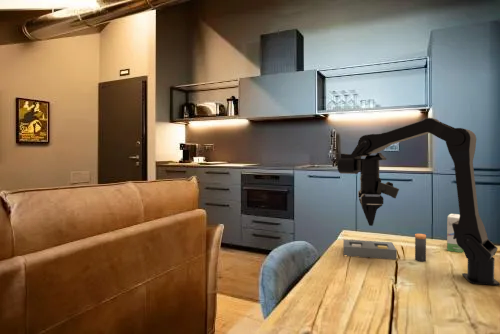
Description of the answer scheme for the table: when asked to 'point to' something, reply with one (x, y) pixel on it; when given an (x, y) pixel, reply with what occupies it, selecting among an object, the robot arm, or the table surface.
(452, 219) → the ink box
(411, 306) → the table surface
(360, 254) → the port block
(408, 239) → the table surface
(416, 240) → the plug
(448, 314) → the table surface
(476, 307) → the table surface
